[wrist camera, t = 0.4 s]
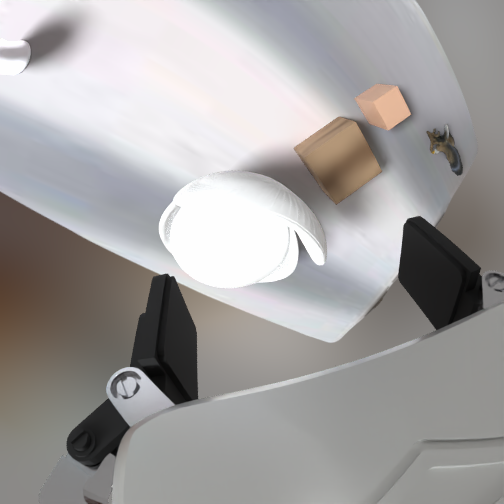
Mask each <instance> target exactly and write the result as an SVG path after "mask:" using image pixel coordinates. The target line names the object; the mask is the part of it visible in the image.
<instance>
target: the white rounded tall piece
mask: <svg viewBox="0 0 504 504" xmlns="http://www.w3.org/2000/svg"><path fill="white" fill-rule="evenodd" d="M30 56H31V48H30V45H29V44H28V42H26V41H24V40H19V41H14V42H9V41H6V40H4V39H1V38H0V74H7V75H17V74H19V73H20V72H22V71H23V70H24V69H25V67H26V66H27V64H28V62H29V60H30Z"/></svg>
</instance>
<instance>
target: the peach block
mask: <svg viewBox="0 0 504 504" xmlns="http://www.w3.org/2000/svg"><path fill="white" fill-rule="evenodd" d="M354 99H355V100H356V102H357V103H358V105H359V107H360V109H361V110H362V112H363V114H364V115H365V117H366V119H367V121H368V122H369V124H371V125H374V126H377V127H380V128H383V129H386V130H388V131H389V130H390V129H391V128H393V127H394V126H396V125H397V124H398V123H400V122H401V121H403V120H404V119H405V118H407V117H408V116H410V115H411V113H410V111H409V109H408V107H407V105H406V103H405V100H404V98H403V96H402V95H401V93H400V91H399V89H398V87H397V86H393V85H384V84H376V85H374V86H373V87H371V88H369V89H368V90H366V91H365V92H363V93H362V94H360V95H359V96H357V97H356V98H354Z"/></svg>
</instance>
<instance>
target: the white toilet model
mask: <svg viewBox="0 0 504 504" xmlns="http://www.w3.org/2000/svg"><path fill="white" fill-rule="evenodd" d="M283 195H284V196H283ZM174 212H175V213H174ZM298 214H299V215H298ZM171 215H172V216H171ZM168 218H170V220H169V219H168ZM171 219H172V220H171ZM169 223H170V224H169ZM171 223H172V224H171ZM171 225H172V226H171ZM169 226H170V227H171V228H170V227H169ZM167 228H168V229H167ZM167 230H168V231H167ZM295 231H296V232H297V233H298V235H299V237H300V239H301V240H302V242H303V244H304V246H305V248H306V250H307V251H308V253H309V255H310V256H311V258H312V259H313V261H314V262H315V263H316V264H317V265H324V264H325V261H326V258H327V245H326V239H325V235H324V232H323V230H322V227H321V225H320V223H319V221H318V220H317V218H316V216H315V215H314V213H313V212H312V211H311V209H310V208H309V207H308V206H307V205H306V204H305V203H304V202H303V201H302V200H301V199H300V198H299V197H298V196H297V195H295V194H294V193H293V192H291V191H290V190H289V189H288V188H287V187H285V186H284V185H283V184H281V183H280V182H278V181H276V180H274V179H272V178H270V177H267V176H264V175H261V174H257V173H253V172H247V171H223V172H217V173H213V174H209V175H206V176H203V177H201V178H199V179H197V180H195V181H193V182H191V183H189V184H188V185H186V186H185V187H183V188H182V189H181V190H180V191H179V192H178V193H177V194H176V195H175V197H174V198H173V202H172V203H171V204H170V205H169V206H168V207H167V209H166V210H165V212H164V213H163V215H162V217H161V220H160V223H159V233H160V236H161V239H162V241H163V243H164V245H165V246H166V247H167V249H168V250H169V251H170V252H171V254H172V255H173V256H174V257H175V259H176V261H177V262H178V264H179V265H180V267H181V268H182V269H183V270H184V271H185V272H186V273H187V274H188V275H190V276H191V277H193V278H194V279H196V280H197V281H200V282H202V283H204V284H206V285H210V286H214V287H219V288H240V287H245V286H249V285H252V284H254V283H257V282H271V281H276V280H280V279H283V278H285V277H287V276H289V275H290V274H291V273H292V272H293V271H294V269H295V268H296V265H297V262H298V256H299V249H298V241H297V237H296V233H295ZM166 232H167V233H166ZM170 232H171V233H170ZM168 234H169V235H168ZM167 235H168V236H167ZM288 242H289V243H288ZM291 243H292V244H291ZM291 246H292V247H291ZM288 249H289V250H288ZM290 251H291V252H290ZM286 252H287V253H288V255H286ZM291 253H292V254H291ZM289 255H290V257H289ZM284 257H285V258H284ZM286 257H287V258H286ZM289 258H290V259H289ZM283 259H285V261H284V260H283ZM286 259H287V260H286ZM288 259H289V260H288ZM283 261H284V262H283ZM286 261H287V262H286ZM288 261H289V262H288ZM281 262H282V263H281ZM289 263H290V264H289ZM280 264H281V266H282V265H283V264H284V266H285V267H284V266H282V267H281V266H280ZM287 264H288V265H287ZM286 265H287V266H288V267H287V266H286ZM279 267H280V268H279ZM283 267H284V269H285V270H286V271H285V270H284V269H283ZM278 268H279V269H280V271H279V270H278ZM276 270H278V271H276ZM283 270H284V271H283ZM282 271H283V272H282ZM274 272H276V273H275V274H274ZM280 272H281V273H280ZM270 274H271V275H270Z"/></svg>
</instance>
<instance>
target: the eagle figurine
mask: <svg viewBox="0 0 504 504" xmlns="http://www.w3.org/2000/svg"><path fill="white" fill-rule="evenodd" d="M444 131H445V133H444V136H440V132H439V131H438V134H435V132H436V129H434V131H433V133H430V132H428V131H427V134H428V136H429V138H430V140H431V146H430V151H431V153H433V154H434V153H435V154H437V153H439V152H441V151H442V152H444V153H445V154H446V155H447V159H448V161H449V163H450V166H451V169H452V171H453V172H454V173H455V174H456V175H457V176H458V175H461V174H462V172H463V167H462V162H461V159H460V156H459V153H458V151H457V149H456V148H455V147H454V139H453V137H452V135H451V134H450V133H449V130H448V125H447V124H445V127H444ZM434 144H437V146H436V148H435V150H434V151H433V145H434Z"/></svg>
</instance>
